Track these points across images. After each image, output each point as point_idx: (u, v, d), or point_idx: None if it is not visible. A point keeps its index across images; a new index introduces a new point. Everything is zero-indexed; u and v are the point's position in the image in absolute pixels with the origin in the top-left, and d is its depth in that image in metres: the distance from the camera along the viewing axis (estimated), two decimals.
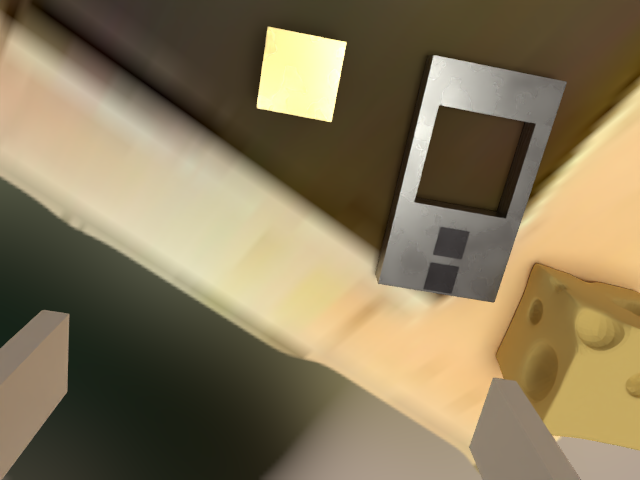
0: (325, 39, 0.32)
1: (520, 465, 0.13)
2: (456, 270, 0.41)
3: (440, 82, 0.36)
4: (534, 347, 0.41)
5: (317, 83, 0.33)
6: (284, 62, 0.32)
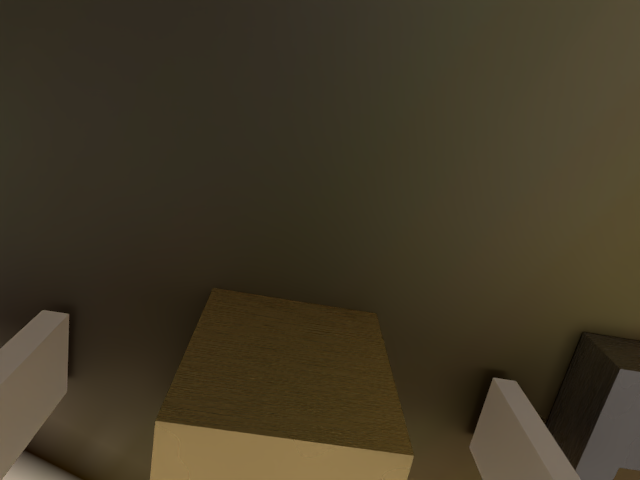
0: (346, 449, 0.10)
1: (520, 465, 0.13)
2: None
3: (629, 424, 0.14)
4: None
5: None
6: None
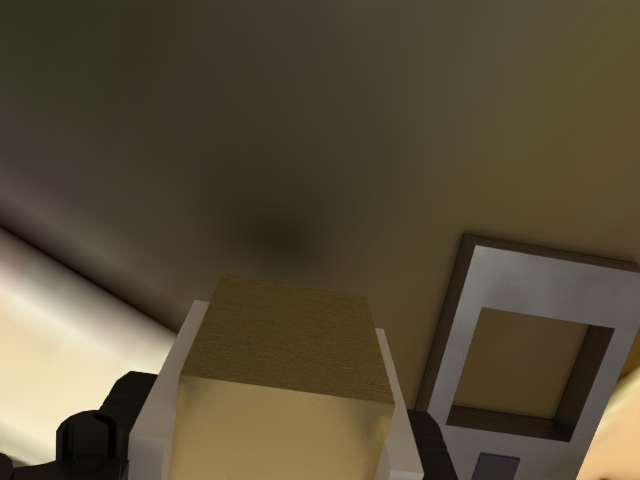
0: (338, 399, 0.12)
1: None
2: None
3: (484, 279, 0.26)
4: None
5: None
6: (228, 451, 0.12)
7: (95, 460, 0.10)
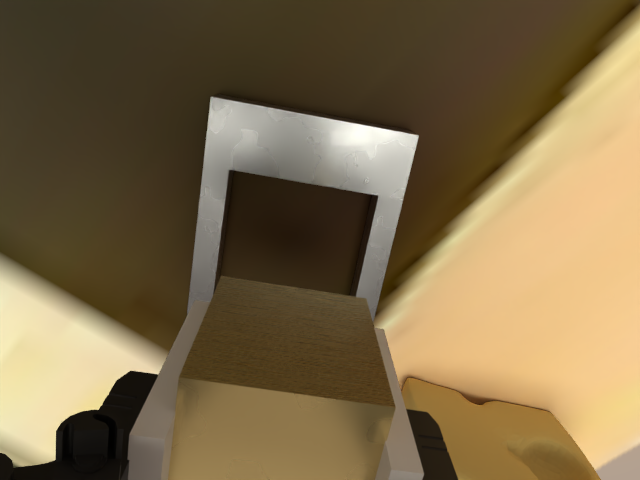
0: (338, 402, 0.12)
1: None
2: None
3: (226, 136, 0.24)
4: None
5: None
6: (227, 454, 0.12)
7: (95, 460, 0.10)
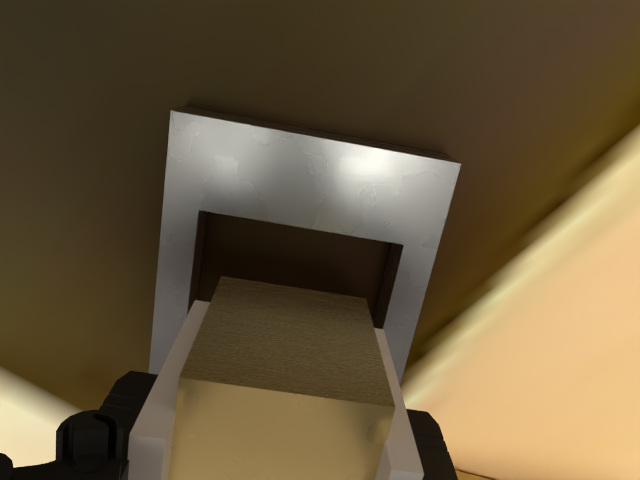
0: (338, 402, 0.12)
1: None
2: None
3: (194, 166, 0.17)
4: None
5: None
6: (227, 453, 0.12)
7: (95, 460, 0.10)
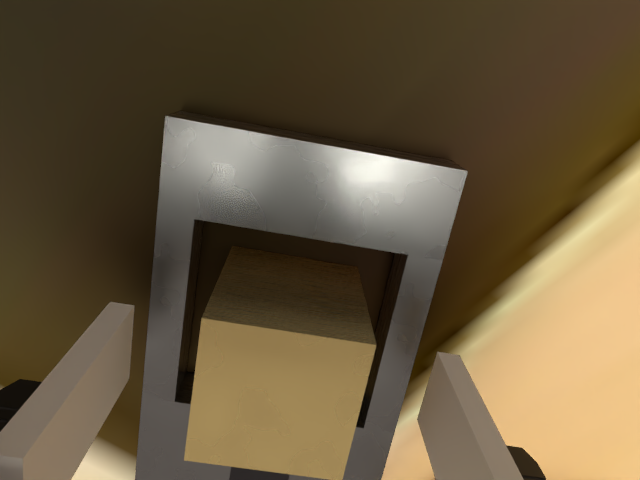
0: (330, 340, 0.14)
1: (453, 429, 0.14)
2: None
3: (190, 173, 0.17)
4: None
5: (313, 418, 0.15)
6: (240, 382, 0.15)
7: None
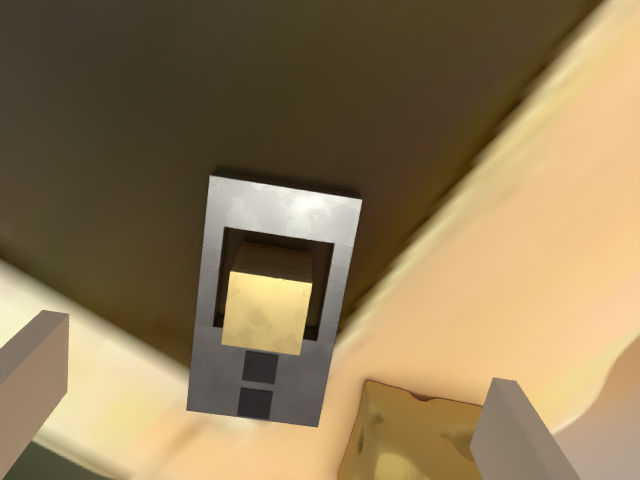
0: (290, 281, 0.31)
1: (520, 465, 0.13)
2: (269, 395, 0.37)
3: (222, 203, 0.33)
4: None
5: (283, 321, 0.31)
6: (248, 303, 0.31)
7: None
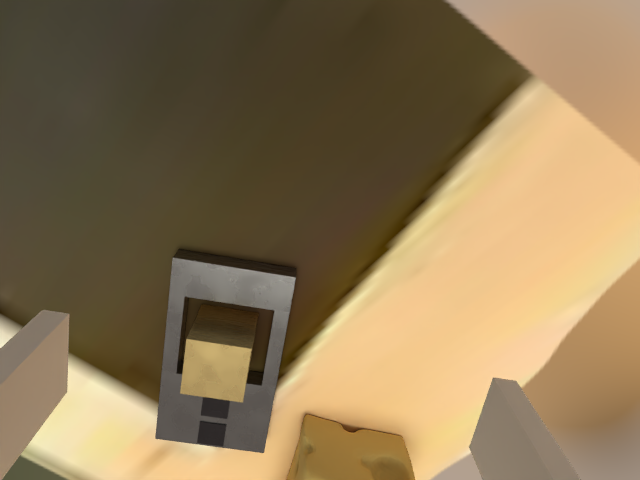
0: (234, 347, 0.39)
1: (520, 465, 0.13)
2: (223, 428, 0.46)
3: (182, 278, 0.41)
4: None
5: (229, 376, 0.40)
6: (201, 362, 0.39)
7: None
